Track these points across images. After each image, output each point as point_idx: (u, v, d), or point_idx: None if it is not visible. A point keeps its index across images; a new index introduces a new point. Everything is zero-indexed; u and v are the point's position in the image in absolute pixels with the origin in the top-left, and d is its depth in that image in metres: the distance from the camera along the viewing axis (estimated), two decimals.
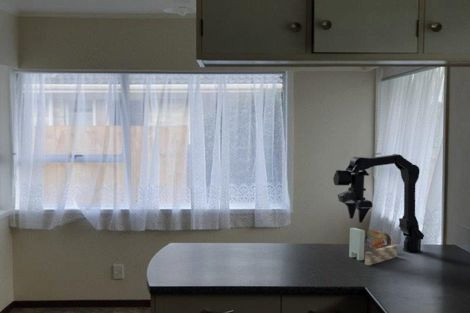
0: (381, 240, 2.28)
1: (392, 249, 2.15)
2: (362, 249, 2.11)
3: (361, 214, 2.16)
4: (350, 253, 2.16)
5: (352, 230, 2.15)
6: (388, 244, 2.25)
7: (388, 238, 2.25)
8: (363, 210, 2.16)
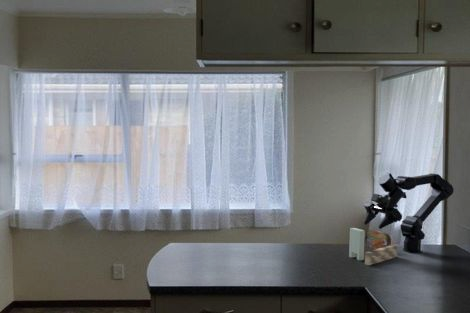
0: (381, 240, 2.28)
1: (392, 249, 2.15)
2: (362, 249, 2.11)
3: (385, 221, 2.13)
4: (350, 253, 2.16)
5: (352, 230, 2.15)
6: (388, 244, 2.25)
7: (388, 238, 2.25)
8: (389, 219, 2.14)
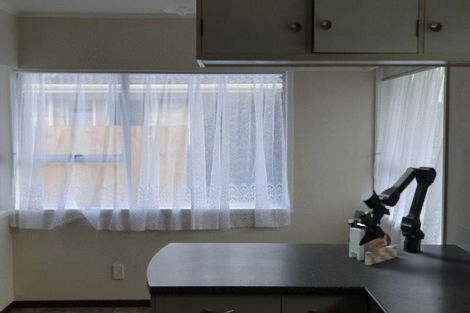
0: (381, 240, 2.28)
1: (392, 249, 2.15)
2: (362, 249, 2.11)
3: (366, 238, 2.10)
4: (350, 253, 2.16)
5: (352, 230, 2.15)
6: (388, 244, 2.25)
7: (388, 238, 2.25)
8: (369, 236, 2.11)
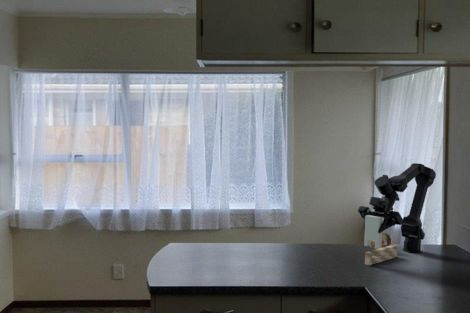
0: None
1: (392, 249, 2.15)
2: (380, 237, 2.04)
3: (385, 225, 2.04)
4: (366, 242, 2.08)
5: (368, 218, 2.06)
6: (388, 244, 2.25)
7: (388, 238, 2.25)
8: (387, 223, 2.05)
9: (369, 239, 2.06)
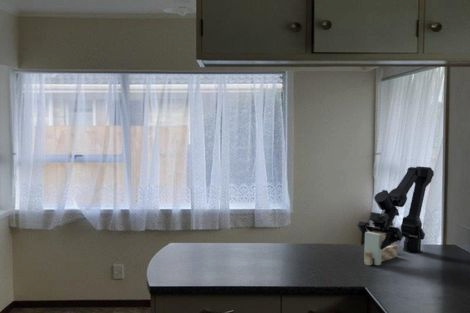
0: None
1: (392, 249, 2.15)
2: (380, 253, 2.05)
3: (387, 241, 2.03)
4: None
5: (368, 234, 2.07)
6: None
7: None
8: (389, 239, 2.04)
9: None
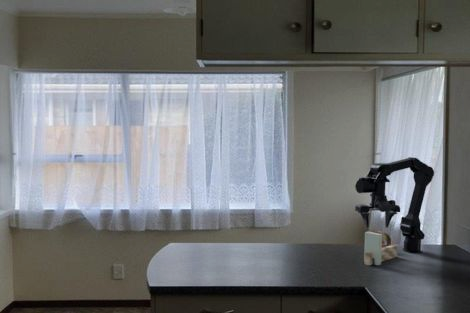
0: None
1: (392, 249, 2.15)
2: (380, 253, 2.05)
3: None
4: None
5: (368, 234, 2.07)
6: (388, 244, 2.25)
7: (388, 238, 2.25)
8: None
9: None
